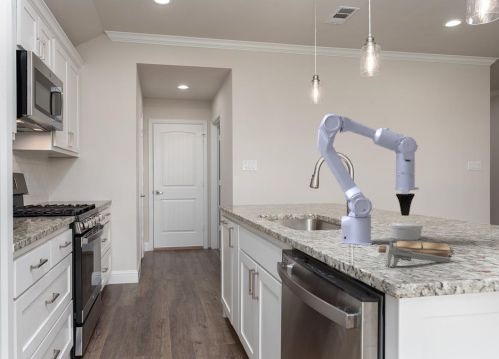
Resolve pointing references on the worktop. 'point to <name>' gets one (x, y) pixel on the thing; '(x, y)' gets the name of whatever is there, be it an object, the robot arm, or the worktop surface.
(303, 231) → the worktop surface
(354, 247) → the worktop surface
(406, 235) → the ramekin
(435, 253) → the floor panel
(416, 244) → the left plank
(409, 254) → the caliper
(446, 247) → the right plank
